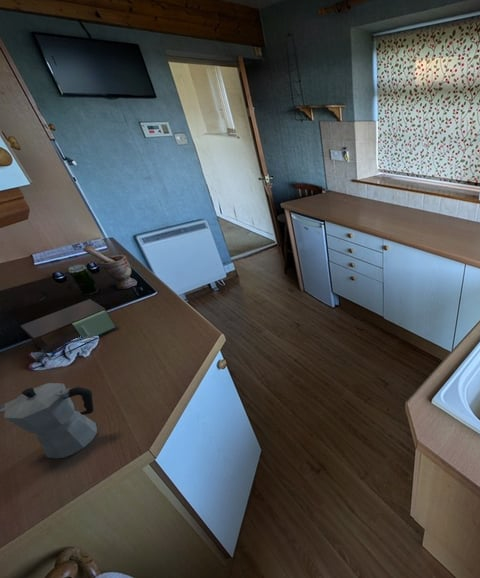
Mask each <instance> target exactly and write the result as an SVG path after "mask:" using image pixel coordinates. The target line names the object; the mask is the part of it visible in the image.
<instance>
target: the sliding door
mask: <svg viewBox="0 0 480 578" xmlns="http://www.w3.org/2000/svg"><path fill="white" fill-rule="evenodd" d="M106 311H107V310H106ZM106 311H105V310H103V311H101V312H99V313H96V314H94V315H91V316H89V317H87V318H84V319H82V320H80V321H77V322H75V323H72V325H73V326H74V328H75V329H76V331H77V332H78V334H79V335H80V336H81V338H82V339H85V338H90V337H93V336H97V335H100V334H102V333H104V332H106V331H108V330H110V329H112V328H115V326H116V324H115V323H114V324H115V325H114V324H113V322H114V321H113V319H112V318H111V319H112V320H111V319H110V317H111V316H110V314H109V313H108V314H109V315H108V314H107V312H108V311H107V312H106ZM109 316H110V317H109ZM112 321H113V322H112Z"/></svg>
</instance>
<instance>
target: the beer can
mask: <svg viewBox="0 0 480 578" xmlns="http://www.w3.org/2000/svg"><path fill="white" fill-rule="evenodd" d="M68 273H69V275H70V276H71V277H72V279H73V281H74V282H75V284H76V286H77V288H78V289H79V290H80V293H82V294H83V295H84V296H91V295H94V294H96V293H98V292H99V291H100V289H99V286H98V284H97V282H96V281H95V279H94V278H93V275H92V274H91V272H90V270H89V269H88V268H87V266H86V265H85V264H76V265H72V266H70V267H69V268H68Z"/></svg>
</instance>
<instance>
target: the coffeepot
mask: <svg viewBox="0 0 480 578" xmlns="http://www.w3.org/2000/svg"><path fill="white" fill-rule="evenodd" d="M76 396H81V400H82V401H83V407H84V409H85V410H83V411H79V410H75V404H74V402H73V401H72V398H73V397H76ZM94 411H95V409H94V399H93V392H92V390H90V389H89V388H85V387H81V386H76V387H68V388H66V386H65V383H58V382H46V383H44V384H42V385H39V386H36V387H34V388H33V387H29V388H26V389H24V390H22V392H21V394H20V395H18V396H17V397H16V398H15V399H12V400H10V401H8V402H5V403H3V404H2V405H0V413H2V414H4V415H3V418H4V419H5V420H7V421H9V422H10V423H12V424H14V425H15V426H17V427H19V428H21V429H23V430H25V431H26V432H28V433H30V434H36V437H37V440H38V442H39V444H40V446H41V448H42V450H43V452H44V454H45V455H46V457H47V458H48V459H64V458H68V457H70V456H73V455H75V454H76V453H78V452H79V451H81V450H83V449H84V448H85V447H87V446H88V445H89V444H90V443H91V442H92V441H93V440H94V439H95V437H96V435H98V427H97V422H95V421H93V420H92V419H90V418H89V417H87V415H89V414H93V412H94Z"/></svg>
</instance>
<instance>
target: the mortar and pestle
mask: <svg viewBox="0 0 480 578" xmlns="http://www.w3.org/2000/svg"><path fill="white" fill-rule="evenodd" d="M82 250H83V251H84V252H85V253H87V254H89V255H90V256H93V257H95V258H97V259H99V260H100V261H99V263H100V265H101V266H102V268H103V269H104V271H105V273H106V274H107V275H108V276H109V277H110V278H111V279H114V280H116V281H117V282H116V284H115V285H116V289H118V290H126V289H130V288H132V287H135V286H137V284H138V281H137V279H135V278H132V277H131V275H132V267H131V264H130V262H129V261H128V258H127V256H126V255H125V254H120V255H119V254H117V255H111V256H106V255H104V254H102V253H101V252H100V251H99V250H97V249H95V248H94V247H93V246H90V245H86V246H85V247H83V248H82Z"/></svg>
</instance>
